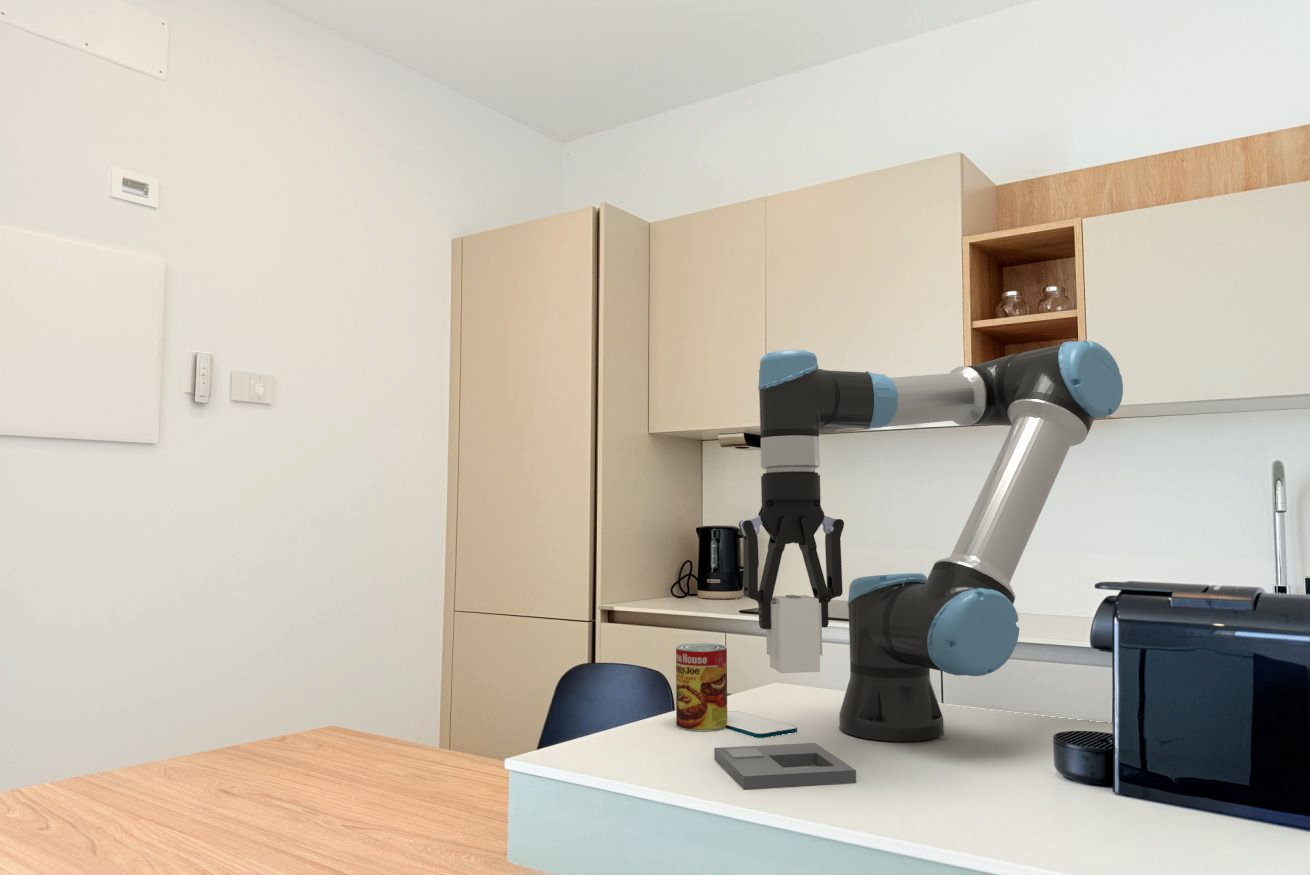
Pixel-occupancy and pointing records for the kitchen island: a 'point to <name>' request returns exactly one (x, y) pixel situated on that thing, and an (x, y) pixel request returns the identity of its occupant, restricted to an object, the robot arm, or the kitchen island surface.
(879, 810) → the kitchen island surface
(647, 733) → the kitchen island surface
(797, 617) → the block
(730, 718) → the smartphone
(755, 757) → the grey square base plate
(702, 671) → the canned food
